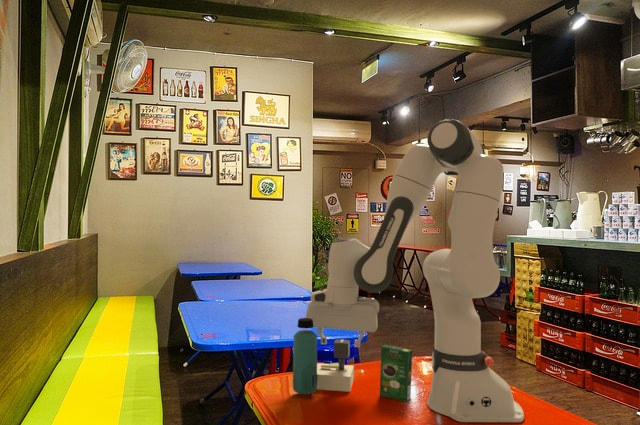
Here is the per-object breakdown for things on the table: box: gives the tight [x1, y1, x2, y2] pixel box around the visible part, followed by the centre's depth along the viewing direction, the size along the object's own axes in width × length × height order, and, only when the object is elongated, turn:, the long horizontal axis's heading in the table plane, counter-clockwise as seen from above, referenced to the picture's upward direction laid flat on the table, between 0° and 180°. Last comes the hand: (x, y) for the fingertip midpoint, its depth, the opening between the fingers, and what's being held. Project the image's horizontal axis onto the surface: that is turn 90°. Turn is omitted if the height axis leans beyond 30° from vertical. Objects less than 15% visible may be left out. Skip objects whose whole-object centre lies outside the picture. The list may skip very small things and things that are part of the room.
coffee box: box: [379, 344, 413, 403], centre depth 124 cm, size 8×3×13 cm, turn 57°
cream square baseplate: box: [316, 362, 355, 393], centre depth 134 cm, size 12×11×4 cm
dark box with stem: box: [321, 339, 351, 370], centre depth 133 cm, size 8×4×8 cm, turn 81°
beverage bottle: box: [292, 317, 318, 395], centre depth 124 cm, size 6×7×20 cm
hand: (340, 345), depth 133 cm, fingers open, 8 cm apart
